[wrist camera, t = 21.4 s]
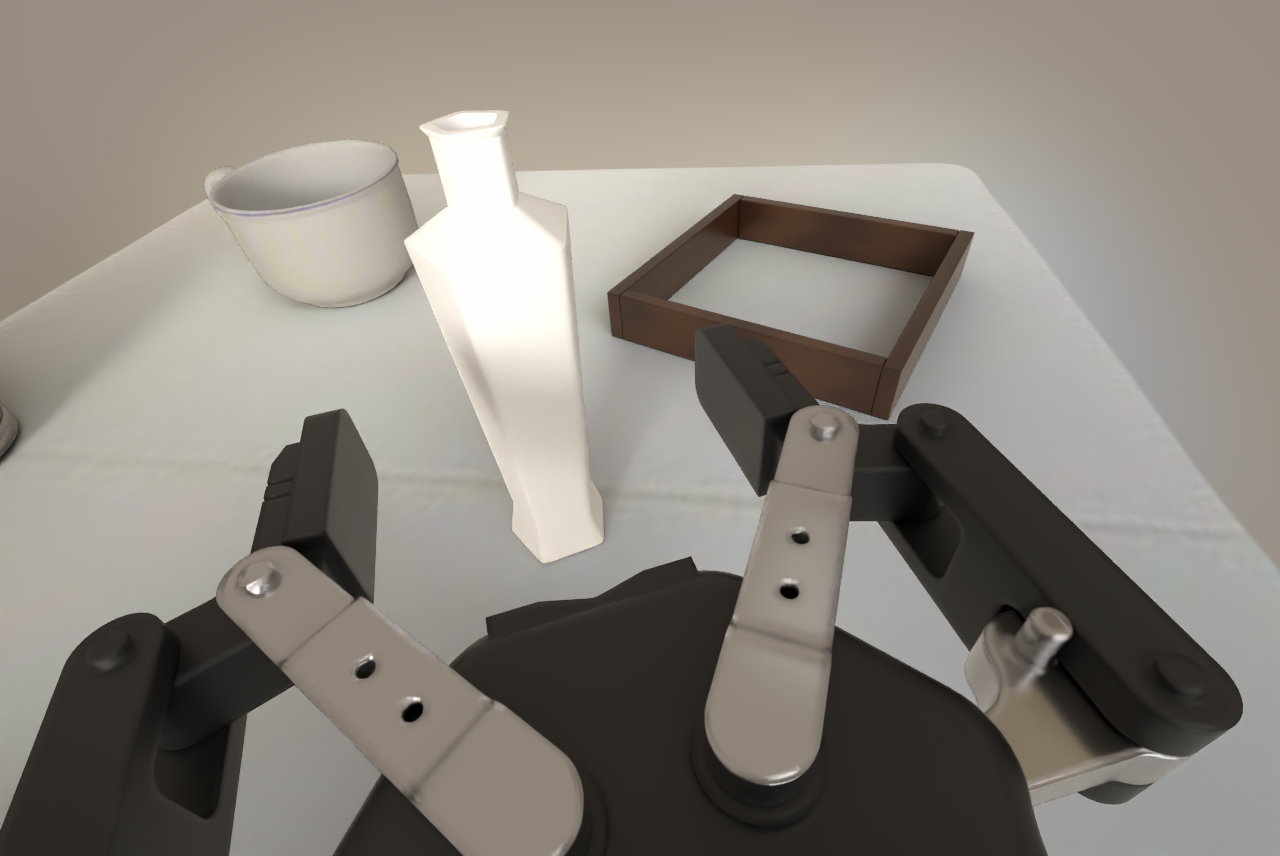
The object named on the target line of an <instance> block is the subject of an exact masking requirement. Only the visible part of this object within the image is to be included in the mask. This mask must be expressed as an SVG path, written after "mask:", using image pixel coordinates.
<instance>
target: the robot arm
mask: <svg viewBox="0 0 1280 856" xmlns="http://www.w3.org/2000/svg"><path fill="white" fill-rule="evenodd" d="M695 385H696V391H697V395H698V398H699V401H700V403H701V405H702V407H703V409H704V410H705V412H706V414H707V415H708V417H709V418H710V420H711V422H712V423H713V425H714V426H715V428H716V430H717V431H718V433H719V434H720V436H721V438H722V439H723V441H724V442H725V444H726V446H727V447H728V449H729V450H730V452H731V454H732V455H733V457H734V458H735V460H736V462H737V463H738V465H739V466H740V468H741V470H742V471H743V473H744V474H745V476H746V478H747V479H748V481H749V482H750V484H751V486H752V487H753V489H754V490H755V492H756V494H757V495H758V497H760V496H764V495H766V498H765V502H764V506H763V509H762V513H761V516H760V520H759V524H758V527H757V531H756V535H755V538H754V542H753V545H752V549H751V553H750V556H749V560H748V563H747V567H746V571H745V574H744V577H741V576H738V575H734V574H731V573H726V572H719V571H698V570H697V568H696V566H695V564H694V562H693V560H692V557H687V558H684V559H681V560H677V561H674V562H671V563H667V564H664V565H661V566H657V567H654V568H651V569H647V570H644V571H642V572H640V573H638V574H636V575H635V576H633V577H631V578H629V579H628V580H626V581H624V582H622V583H621V584H619V585H617V586H615V587H614V588H612V589H610V590H608V591H607V592H605V593H603V594H601V595H599V596H597V597H594V598H588V599H574V600H559V601H545V602H537V603H533V604H530V605H527V606H523V607H520V608H517V609H513V610H510V611H507V612H503V613H500V614H497V615H493V616H490V617H487V618H486V624H487V632H488V635H486V636H484V637H482V638H481V639H479V640H478V641H476V642H475V643H473V644H472V645H471V646H469V647H468V648H467V649H466V650H464V651H463V652H462V653H461V654H460V655H459V656H458V657H457V658H456V659H455V660H454V661H453V662H452V663H451V664H450V665H449V666H448V665H447V664H446V663H444V662H443V661H442V660H441V659H439V658H438V657H437V656H436V655H435V654H433V653H432V652H431V651H430V650H428V649H427V648H426V647H425V646H423V645H422V644H421V643H420V642H419V641H417V640H416V639H415V638H414V637H412V636H411V635H410V634H409V633H407V632H406V631H405V630H404V629H402V628H401V627H400V626H399V625H398V624H396V623H395V622H394V621H393V620H391V619H390V618H389V617H388V616H386V615H385V614H384V613H383V612H381V611H380V610H379V609H378V608H377V607H375V606H374V581H375V556H376V531H377V506H378V478H377V473H376V470H375V466H374V463H373V461H372V459H371V457H370V455H369V453H368V451H367V449H366V447H365V445H364V443H363V441H362V439H361V437H360V435H359V433H358V431H357V429H356V427H355V425H354V423H353V421H352V419H351V417H350V416H349V414H348V412H347V411H346V410H345V409H339V410H334V411H330V412H325V413H321V414H317V415H312V416H308V417H306V418H305V420H304V425H303V430H302V435H301V440H300V442H299V443H295V444H291V445H286V446H285V448H284V449H283V450H282V452H281V453H280V454H279V455H278V457H277V458H276V459H275V461H274V462H273V463H272V465H271V469H270V473H269V478H268V482H267V484H268V486H267V487H266V490H265V494H264V501H265V502H263V503H262V507H261V511H260V515H259V520H258V524H257V528H256V532H255V536H254V541H253V545H252V549H251V553H250V555H248V556H246V557H245V558H243V559H242V560H240V561H239V562H238V563H236V564H235V565H234V566H233V567H232V568H231V569H230V570H229V571H228V572H227V573H226V574H225V575H224V577H223V578H222V580H221V581H220V583H219V586H218V588H217V592H216V597H214V598H213V599H211V600H209V601H208V602H206V603H204V604H202V605H200V606H198V607H196V608H194V609H192V610H190V611H188V612H186V613H184V614H182V615H180V616H178V617H177V618H175V619H173V620H171V621H169V622H167V623H164V622H162V621H161V620H160V619H159V618H158V617H157V616H155V615H153V614H150V613H133V614H129V615H125V616H122V617H120V618H117V619H115V620H113V621H111V622H108V623H107V624H105V625H103V626H102V627H100V628H98V629H97V630H96V631H94V632H93V633H91V634H90V635H89V636H88V637H87V638H85V639H84V640H83V641H82V642H81V643H80V644H79V645H78V646H77V647H76V648H75V650H74V651H73V652H72V653H71V655H70V656H69V658H68V659H67V661H66V663H65V665H64V667H63V670H62V672H61V675H60V677H59V680H58V683H57V685H56V688H55V690H54V693H53V696H52V698H51V701H50V703H49V706H48V708H47V711H46V714H45V716H44V719H43V721H42V724H41V727H40V729H39V732H38V734H37V737H36V740H35V742H34V745H33V747H32V750H31V752H30V755H29V758H28V760H27V763H26V765H25V768H24V771H23V773H22V776H21V778H20V781H19V784H18V786H17V789H16V791H15V794H14V797H13V799H12V802H11V804H10V807H9V809H8V812H7V815H6V817H5V820H4V822H3V825H2V828H1V830H0V856H229V851H230V843H231V836H232V828H233V820H234V813H235V805H236V797H237V789H238V782H239V774H240V766H241V758H242V751H243V743H244V735H245V727H246V720H247V713H248V712H250V711H252V710H253V709H255V708H257V707H259V706H260V705H262V704H264V703H265V702H267V701H269V700H270V699H272V698H274V697H275V696H277V695H279V694H280V693H282V692H284V691H285V690H287V689H289V688H290V687H292V686H294V685H295V686H296V687H297V688H298V689H299V690H300V691H301V692H302V693H303V694H304V695H305V696H306V697H307V698H308V699H309V700H310V701H311V702H312V703H313V704H314V705H315V706H316V707H317V708H318V709H319V710H320V711H321V712H322V713H323V714H324V715H325V716H326V717H327V718H328V719H329V720H330V721H331V722H332V723H333V724H334V725H335V726H336V727H337V728H338V730H339V731H340V732H341V733H342V734H343V735H344V736H345V737H346V738H347V739H348V740H349V741H350V742H351V743H352V744H353V745H354V746H355V747H356V748H357V749H358V750H359V751H360V752H361V753H362V754H363V755H364V756H365V757H366V758H367V759H368V760H369V761H370V762H371V763H372V764H373V765H374V766H375V768H376V769H377V770H378V771H379V772H380V773H381V775H380V777H379V779H378V780H377V782H376V784H375V785H374V787H373V789H372V790H371V792H370V794H369V795H368V797H367V799H366V800H365V802H364V804H363V805H362V807H361V809H360V810H359V812H358V814H357V815H356V817H355V819H354V820H353V822H352V824H351V825H350V827H349V829H348V830H347V832H346V834H345V836H344V837H343V839H342V841H341V842H340V844H339V846H338V847H337V849H336V851H335V852H334V854H333V856H1048V854H1047V852H1046V849H1045V847H1044V844H1043V841H1042V839H1041V836H1040V832H1039V829H1038V826H1037V823H1036V819H1035V815H1034V811H1033V806H1036V805H1039V804H1042V803H1045V802H1048V801H1051V800H1054V799H1057V798H1060V797H1064V796H1067V795H1070V794H1073V793H1076V792H1078V793H1079V794H1081V795H1083V796H1085V797H1086V798H1088V799H1091V800H1094V801H1096V802H1100V803H1104V804H1113V805H1114V804H1122V803H1125V802H1127V801H1129V800H1130V799H1132V798H1133V797H1135V796H1136V795H1138V794H1139V793H1140V792H1142V791H1143V790H1145V789H1146V788H1147V787H1149V786H1150V785H1152V784H1153V783H1154V782H1156V781H1157V780H1159V779H1160V778H1162V777H1163V776H1164V775H1166V774H1167V773H1169V772H1170V771H1171V770H1173V769H1174V768H1176V767H1177V766H1178V765H1180V764H1181V763H1183V762H1184V761H1185V760H1187V759H1188V758H1190V757H1191V756H1193V755H1194V754H1195V753H1197V752H1198V751H1199V750H1201V749H1202V748H1204V747H1205V746H1207V745H1208V744H1209V743H1211V742H1212V741H1214V740H1215V739H1217V738H1218V737H1219V736H1221V735H1222V734H1224V733H1225V732H1226V731H1228V730H1229V729H1231V728H1232V727H1233V726H1235V725H1236V724H1237V723H1238V722H1239V720H1240V719H1241V716H1242V713H1243V703H1242V698H1241V695H1240V693H1239V690H1238V688H1237V687H1236V685H1235V683H1234V681H1233V680H1232V679H1231V677H1230V676H1229V675H1228V673H1227V672H1226V671H1225V670H1224V669H1223V668H1222V667H1221V666H1220V665H1219V664H1218V663H1217V662H1216V661H1215V660H1214V659H1213V658H1212V657H1211V656H1210V655H1209V654H1208V653H1207V652H1206V651H1205V650H1204V649H1203V648H1202V647H1201V646H1200V645H1198V644H1197V643H1196V642H1195V641H1194V640H1193V639H1192V638H1191V637H1190V636H1189V635H1188V634H1187V633H1186V632H1185V631H1184V630H1183V629H1182V628H1181V627H1180V626H1179V625H1178V624H1177V623H1176V622H1175V621H1174V620H1173V619H1172V618H1171V617H1170V616H1169V615H1168V614H1167V613H1166V612H1164V611H1163V610H1162V609H1161V608H1160V607H1159V606H1158V605H1157V604H1156V603H1155V602H1154V601H1153V600H1152V599H1151V598H1150V597H1149V596H1148V595H1147V594H1146V593H1145V592H1144V591H1143V590H1142V589H1141V588H1140V587H1139V586H1138V585H1137V584H1136V583H1135V582H1134V581H1133V580H1131V579H1130V578H1129V577H1128V576H1127V575H1126V574H1125V573H1124V572H1123V571H1122V570H1121V569H1120V568H1119V567H1118V566H1117V565H1116V564H1115V563H1114V562H1113V561H1112V560H1111V559H1110V558H1109V557H1108V556H1107V555H1106V554H1105V553H1104V552H1103V551H1102V550H1101V549H1100V548H1099V547H1097V546H1096V545H1095V544H1094V543H1093V542H1092V541H1091V540H1090V539H1089V538H1088V537H1087V536H1086V535H1085V534H1084V533H1083V532H1082V531H1081V530H1080V529H1079V528H1078V527H1077V526H1076V525H1075V524H1074V523H1073V522H1072V521H1071V520H1070V519H1069V518H1068V517H1067V516H1066V515H1064V514H1063V513H1062V512H1061V511H1060V510H1059V509H1058V508H1057V507H1056V506H1055V505H1054V504H1053V503H1052V502H1051V501H1050V500H1049V499H1048V498H1047V497H1046V496H1045V495H1044V494H1043V493H1042V492H1041V491H1040V490H1039V489H1038V488H1037V487H1036V486H1035V485H1034V484H1033V483H1032V482H1030V481H1029V480H1028V479H1027V478H1026V477H1025V476H1024V475H1023V474H1022V473H1021V472H1020V471H1019V470H1018V469H1017V468H1016V467H1015V466H1014V465H1013V464H1012V463H1011V462H1010V461H1009V460H1008V459H1007V458H1006V457H1005V456H1004V455H1003V454H1002V453H1001V452H1000V451H999V450H997V449H996V448H995V447H994V446H993V445H992V444H991V443H990V442H989V441H988V440H987V439H986V438H985V437H984V436H983V435H982V434H981V433H980V432H979V431H978V430H977V429H976V428H975V427H974V426H973V425H972V424H971V423H970V422H969V421H968V420H967V419H966V418H964V417H963V416H962V415H961V414H959V413H958V412H956V411H954V410H952V409H950V408H947V407H945V406H941V405H937V404H929V403H920V404H914V405H911V406H908V407H906V408H905V409H903V410H902V411H901V413H900V414H899V417H898V420H897V424H874V425H864V424H857V422H856V421H855V419H854V418H853V417H852V416H850V415H849V414H848V413H846V412H845V411H842V410H840V409H838V408H835V407H830V406H823V405H819V404H818V402H817V401H816V400H815V399H814V398H813V397H812V396H811V394H810V393H809V392H808V391H807V390H806V389H805V388H804V386H803V385H802V384H801V383H800V382H799V381H798V379H797V378H796V377H795V376H794V375H793V374H792V373H791V372H789V369H788V368H787V367H786V366H785V365H784V363H783V362H780V359H779V358H778V357H777V355H776V354H775V353H774V352H773V351H772V350H771V348H770V347H768V346H766V345H764V344H762V343H761V342H759V341H757V340H755V339H753V338H749V339H745V340H742V339H741V337H740V336H739V335H738V334H737V333H736V331H735V330H734V329H733V328H732V327H731V325H730V324H729V323H722V324H718V325H713V326H709V327H705V328H700V329H697V330H696V333H695ZM17 432H18V422H17V420H16V418H15V417H14V416H13V415H12V414H11V413H10V412H9V411H8V410H7V409H6V408H5V407H4V406H3V405H2V404H1V403H0V457H1V456H2V455H3V454H4V453H5V452H6V451H7V449H8V448H9V447H10V445H11V444H12V442H13V441H14V439H15V437H16V435H17ZM849 521H877V522H878V523H879V524H880V526H881V527H882V529H883V530H884V531H885V533H886V534H887V536H888V537H889V539H890V540H891V541H892V543H893V544H894V546H895V547H896V548H897V550H898V551H899V553H900V554H901V555H902V557H903V558H904V560H905V561H906V563H907V564H908V565H909V567H910V568H911V570H912V571H913V572H914V574H915V575H916V577H917V578H918V579H919V581H920V582H921V584H922V585H923V587H924V588H925V589H926V591H927V592H928V594H929V595H930V596H931V598H932V599H933V601H934V602H935V604H936V605H937V606H938V608H939V609H940V611H941V612H942V613H943V615H944V616H945V618H946V619H947V620H948V622H949V623H950V625H951V626H952V628H953V629H954V630H955V632H956V633H957V635H958V636H959V637H960V639H961V640H962V642H963V643H964V644H965V646H966V647H967V649H968V650H969V652H970V653H969V654H968V656H967V658H966V661H965V676H966V679H967V682H968V685H969V687H970V688H971V690H972V692H973V694H974V696H975V699H976V702H977V706H978V707H977V706H976V705H974V704H973V703H972V702H971V701H969V700H968V699H967V698H965V697H964V696H963V695H961V694H959V693H958V692H956V691H954V690H953V689H951V688H949V687H948V686H946V685H944V684H942V683H940V682H938V681H936V680H935V679H933V678H931V677H929V676H927V675H925V674H924V673H922V672H920V671H918V670H916V669H914V668H912V667H911V666H909V665H907V664H905V663H903V662H901V661H900V660H898V659H896V658H894V657H892V656H890V655H889V654H887V653H885V652H883V651H881V650H879V649H877V648H876V647H874V646H872V645H870V644H868V643H866V642H865V641H863V640H861V639H859V638H857V637H855V636H853V635H852V634H850V633H848V632H846V631H844V630H842V629H841V628H839V627H837V626H835V621H836V614H837V606H838V599H839V592H840V585H841V577H842V570H843V563H844V555H845V548H846V541H847V533H848V526H849Z"/></svg>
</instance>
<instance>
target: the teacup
mask: <svg viewBox="0 0 1280 856" xmlns="http://www.w3.org/2000/svg"><path fill="white" fill-rule="evenodd" d="M204 187H205V192H206V194H207V197H208V199H209V201H210V203H211V205H212V206H213V207H214V209H215V210H216V212H217V213H218V214H219V215H220V216H221V217H222V218H223V219H224V220H225V222H226V224H227V225H228V227H229V229H230V231H231V232H232V234H233V236H234V237H235V239H236V241H237V242H238V244H239V246H240V247H241V249H242V250H243V252H244V253H245V255H246V257H247V258H248V260H249V261H250V263H251V264H252V266H253V267H254V268H255V270H256V271H257V273H258V274H259V276H260V277H261V278H262V279H263V280H264V281H265V282H266V283H267V285H269V286H270V287H271V288H272V289H273V290H275V291H276V292H278V293H279V294H281V295H283V296H285V297H287V298H290V299H292V300H296V301H300V302H305V303H309V304H312V305H315V306H320V307H330V308H338V307H347V306H353V305H358V304H362V303H365V302H368V301H370V300H373V299H375V298H377V297H379V296H381V295H383V294H385V293H387V292H388V291H390V290H391V289H393V288H394V287H395V286H396V285H397V284H398V283H399V282H400V281H401V280H402V278H403V277H404V275H405V273H406V271H407V270H408V269H409V268H410V266H411V265H412V264H413V263H412V260H411V258H410V256H409V253H408V251H407V248H406V246H405V244H404V240H405V239H406V238H407V237H409V236H410V235H411V234H412V233H414V232H415V231H416V230H417V229H418V226H417V222H416V218H415V215H414V211H413V208H412V204H411V201H410V198H409V195H408V192H407V189H406V186H405V183H404V180H403V178H402V175H401V172H400V169H399V166H398V157H397V154H396V152H395V151H394V150H393V149H392V148H391V147H389V146H387V145H385V144H381V143H379V142H375V141H368V140H352V139H351V140H335V141H325V142H317V143H312V144H307V145H301V146H297V147H293V148H288V149H284V150H281V151H278V152H275V153H272V154H269V155H266V156H263V157H261V158H259V159H256V160H254V161H251V162H249V163H247V164H245V165H242V166H240V167H238V168H233V167H229V166H228V167H227V166H224V167H219V168H217V169H215V170H213V171H212V172H210V173H209V174H208V175H207V177H206V179H205V184H204Z"/></svg>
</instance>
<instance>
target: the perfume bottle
mask: <svg viewBox="0 0 1280 856" xmlns="http://www.w3.org/2000/svg"><path fill="white" fill-rule="evenodd" d="M508 117H509V113H508V112H507V111H498V110H497V111H459V112H454V113H451V114H449V115H446V116H443V117H440V118H438V119H435V120H432V121H430V122H427V123H425V124H422V125H421V126H420V129H421V130H422V131H423V132H424V133H425V134H426V135H428V136H429V139H430V143H431V146H432V150H433V153H434V157H435V161H436V164H437V167H438V171H439V175H440V179H441V182H442V186H443V189H444V193H445V197H446V200H447V204H448V206H446V207H445V208H444V209H443V210H441V211H440V212H439V213H438V214H436V215H435V216H434V217H433V218H431V219H430V220H429V221H427V222H426V223H425V224H424V225H422V226H421V227H420V228H419V229H417V230H416V231H415V232H414V233H412V234H411V235H410V236H409V237H407V238H406V239H405V240H404V244H405V246H406V248H407V251H408V253H409V256H410V258H411V260H412V263H413V265H414V267H415V270H416V272H417V275H418V277H419V279H420V282H421V284H422V286H423V289H424V291H425V294H426V296H427V298H428V301H429V303H430V305H431V308H432V310H433V313H434V315H435V317H436V320H437V322H438V324H439V327H440V329H441V332H442V334H443V336H444V339H445V341H446V343H447V346H448V348H449V351H450V353H451V355H452V358H453V360H454V362H455V365H456V367H457V370H458V372H459V374H460V377H461V379H462V381H463V384H464V386H465V389H466V391H467V393H468V396H469V398H470V400H471V403H472V405H473V408H474V410H475V412H476V415H477V417H478V419H479V422H480V424H481V427H482V429H483V431H484V434H485V436H486V438H487V441H488V443H489V446H490V448H491V450H492V453H493V455H494V457H495V460H496V462H497V465H498V467H499V469H500V472H501V474H502V476H503V479H504V481H505V484H506V486H507V488H508V491H509V493H510V495H511V498H512V500H513V515H512V528H511V529H512V531H513V532H514V533H515V534H516V536H517V537H518V538H519V539H520V540H521V541H522V542H523V543H524V544H525V546H526V547H527V548H528V549H529V550H530V551H531V552H532V553H533V554H534V556H535V557H536V558H537V559H538V560H539V561H540V562H541V563H545V564H546V563H550V562H553V561H556V560H558V559H561V558H564V557H567V556H569V555H572V554H575V553H578V552H580V551H583V550H586V549H588V548H591V547H594V546H597V545H599V544H601V543H602V542H603V540H604V527H603V502H602V497H601V496H600V494H599V492H598V490H597V489H596V487H595V485H594V483H593V482H592V480H591V478H590V469H589V457H588V445H587V433H586V422H585V410H584V398H583V386H582V375H581V363H580V351H579V339H578V327H577V316H576V304H575V292H574V280H573V269H572V257H571V245H570V233H569V222H568V210H567V207H566V206H564V205H561V204H558V203H555V202H551V201H548V200H545V199H541V198H538V197H535V196H532V195H528V194H525V193H522V192H519V191H518V186H517V180H516V175H515V170H514V165H513V160H512V155H511V150H510V145H509V140H508V135H507V130H506V123H507V120H508Z"/></svg>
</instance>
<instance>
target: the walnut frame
mask: <svg viewBox="0 0 1280 856" xmlns="http://www.w3.org/2000/svg"><path fill="white" fill-rule="evenodd" d="M973 236H974V232H968V231H962V230H960V232H959V230H954V229H948V228H942V227H935V226H929V225H923V224H917V223H910V222H904V221H898V220H892V219H885V218H879V217H873V216H867V215H861V214H854V213H848V212H842V211H836V210H829V209H823V208H817V207H811V206H804V205H798V204H792V203H786V202H780V201H773V200H767V199H761V198H755V197H748V196H743V195H737V194H734V195H733V196H731V197H730V198H729V199H727V200H726V201H725V202H723V203H722V204H721V205H720V206H718V207H717V208H716V209H714V210H713V211H712V212H711V213H709V214H708V215H707V216H705V217H704V218H703V219H702V220H700V221H699V222H698V223H696V224H695V225H694V226H693V227H691V228H690V229H689V230H687V231H686V232H685V233H684V234H682V235H681V236H680V237H678V238H677V239H676V240H675V241H673V242H672V243H671V244H669V245H668V246H667V247H666V248H664V249H663V250H662V251H660V252H659V253H658V254H656V255H655V256H654V257H653V258H651V259H650V260H649V261H647V262H646V263H645V264H644V265H642V266H641V267H640V268H638V269H637V270H636V271H635V272H633V273H632V274H631V275H629V276H628V277H627V278H626V279H624V280H623V281H622V282H620V283H619V284H618V285H617V286H615V287H614V288H613V289H611V290H610V291H609V292H608V293H607V295H608V304H609V313H610V322H611V331H612V336H615V337H618V338H621V339H623V338H624V339H625V340H629V341H632V342H635V343H638V344H642V345H645V346H648V347H651V348H655V349H658V350H661V351H665V352H668V353H671V354H674V355H678V356H681V357H684V358H687V359H691V360H694V361H695V333H696V330H697V329H700V328H705V327H709V326H713V325H718V324H722V323H729V324H730V325H731V327H732V328H733V329H734V330H735V331H736V333H737V334H738V335H739V336H740V337H741V339H742V340H745V339H749V338H753V339H755V340H757V341H759V342H761V343H762V344H764V345H766V346H768V347H770V348H771V350H772V351H773V352H774V353H775V354H776V355H777V357H778V358H779V359H780V362H783V363H784V365H785V366H786V367H787V368H788V369H789V372H791V373H792V374H793V375H794V376H795V377H796V378H797V379H798V381H799V382H800V383H801V384H802V385H803V386H804V388H805V389H806V390H807V391H808V392H809V393H810V394H811V396H812V397H815V398H818V399H821V400H824V401H828V402H831V403H834V404H837V405H841V406H844V407H847V408H850V409H854V410H857V411H860V412H864V413H867V414H871V415H872V416H875V417H879V418H882V419H885V420H888V419H889V417H890V415H891V413H892V411H893V409H894V407H895V406H896V404H897V402H898V400H899V398H900V396H901V394H902V392H903V390H904V388H905V386H906V384H907V382H908V380H909V378H910V376H911V374H912V372H913V370H914V368H915V366H916V364H917V362H918V360H919V358H920V356H921V354H922V352H923V350H924V348H925V346H926V344H927V342H928V340H929V338H930V336H931V334H932V332H933V330H934V328H935V326H936V324H937V322H938V320H939V318H940V316H941V314H942V312H943V310H944V308H945V306H946V304H947V302H948V300H949V298H950V296H951V294H952V292H953V290H954V288H955V286H956V284H957V282H958V281H959V279H960V277H961V274H962V271H963V268H964V265H965V262H966V258H967V255H968V252H969V249H970V246H971V243H972V240H973ZM738 237H739V238H742V239H747V240H752V241H757V242H762V243H768V244H773V245H778V246H783V247H788V248H793V249H798V250H803V251H809V252H814V253H819V254H824V255H829V256H834V257H839V258H844V259H849V260H855V261H860V262H865V263H870V264H875V265H880V266H885V267H890V268H895V269H901V270H906V271H911V272H916V273H921V274H926V275H931V276H934V278H933V279H932V281H931V283H930V285H929V286H928V288H927V290H926V292H925V293H924V295H923V297H922V299H921V301H920V302H919V304H918V306H917V308H916V309H915V311H914V313H913V315H912V316H911V318H910V320H909V322H908V323H907V325H906V327H905V329H904V331H903V332H902V334H901V336H900V338H899V339H898V341H897V343H896V345H895V346H894V348H893V350H892V352H891V353H890V355H889V357H888V359H887V358H885V357H881V356H878V355H874V354H870V353H866V352H862V351H858V350H855V349H851V348H847V347H843V346H839V345H835V344H832V343H828V342H824V341H820V340H816V339H813V338H809V337H805V336H801V335H797V334H793V333H790V332H786V331H782V330H778V329H774V328H771V327H767V326H763V325H759V324H755V323H751V322H748V321H744V320H740V319H736V318H732V317H728V316H725V315H721V314H717V313H713V312H709V311H706V310H702V309H698V308H694V307H690V306H686V305H683V304H679V303H675V302H671V301H667V300H668V299H669V298H670V297H671V296H672V295H673V294H675V293H676V292H677V291H678V290H679V289H680V288H681V287H682V286H684V285H685V284H686V283H687V282H688V281H689V280H690V279H692V278H693V277H694V276H695V275H696V274H697V273H698V272H699V271H701V270H702V269H703V268H704V267H705V266H706V265H707V264H709V263H710V262H711V261H712V260H713V259H714V258H715V257H716V256H718V255H719V254H720V253H721V252H722V251H723V250H724V249H726V248H727V247H728V246H729V245H730V244H731V243H732V242H733V241H735V240H736V239H737V238H738Z"/></svg>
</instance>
